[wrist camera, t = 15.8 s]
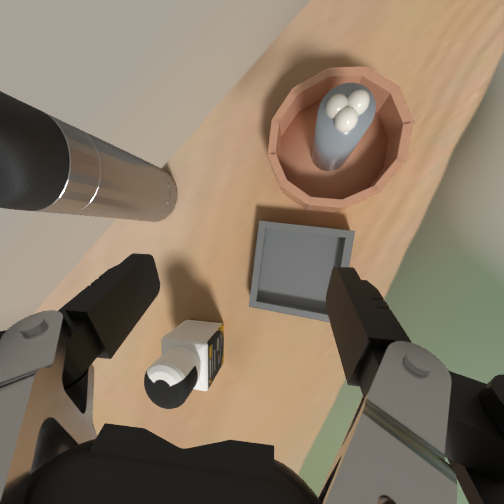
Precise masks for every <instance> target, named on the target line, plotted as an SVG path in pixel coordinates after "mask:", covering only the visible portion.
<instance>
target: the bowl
mask: <svg viewBox="0 0 504 504" xmlns="http://www.w3.org/2000/svg"><path fill="white" fill-rule="evenodd" d="M344 83H358V84H361V85H363V86H365V87H366V88H368V89H369V90H370V91H371V93H372V94H373V96H374V99H375V103H376V111H375V116H374V118H373V121H372V122H371V124H370V126H369V127H368V129H367V130H366V132H365V133H364V135H363V136H362V138H361V139H360V141H359V142H358V144H357V145H356V147H355V148H354V150H353V151H352V153H351V155H350V156H349V158H348V159H347V161H346V162H345V163H344V165H343V166H341V167H340V168H338V169H337V170H334V171H323V170H320V169H319V168H317V167H316V166H315V165H314V163H313V161H312V158H311V151H312V145H313V139H314V133H315V127H316V121H317V115H318V110H319V106H320V103H321V101H322V99H323V98H324V96H325V95H326V94H327V93H328V92H329V91H330V90H331V89H333V88H334V87H336V86H338V85H341V84H344ZM413 123H414V122H413V118H412V116H411V113H410V111H409V109H408V106H407V104H406V102H405V99H404V97H403V94H402V92H401V90H400V87H398V85H397V84H395V83H393V82H392V81H390V80H388V79H387V78H385V77H383V76H382V75H380V74H378V73H377V72H375V71H373V70H372V69H370V68H368V67H366V66H360V67H330V68H326V69H324V70H322V71H321V72H319V73H317V74H315V75H314V76H312V77H310V78H309V79H307V80H305V81H303V82H302V83H300V84H298V85H297V86H295V87H293V88H292V90H291V91H290V93H289V94H288V96H287V97H286V99H285V100H284V102H283V103H282V105H281V106H280V108H279V109H278V111H277V112H276V114H275V115H274V117H273V118H272V121H271V130H270V138H269V146H268V157H269V160H270V163H271V165H272V168H273V170H274V173H275V175H276V177H277V180H278V182H279V185H280V187H281V189H282V192H283V193H284V194H285V195H287V196H288V197H289V198H291V199H292V200H294V201H295V202H296V203H298V204H299V205H300V206H302V207H303V208H305V209H307V210H317V211H328V212H338V211H340V210H343V209H345V208H347V207H350V206H352V205H354V204H357V203H359V202H362V201H364V200H366V199H368V198H370V197H372V196H374V195H376V194H378V193H380V192H381V191H382V189H383V188H384V187H385V186H386V185H387V183H388V182H389V181H390V180H391V179H392V177H393V176H394V175H395V174H396V173H397V171H398V170H399V169H400V168H401V167H402V165H403V164H404V163H405V162H406V160H407V154H408V149H409V144H410V139H411V133H412V128H413Z"/></svg>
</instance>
